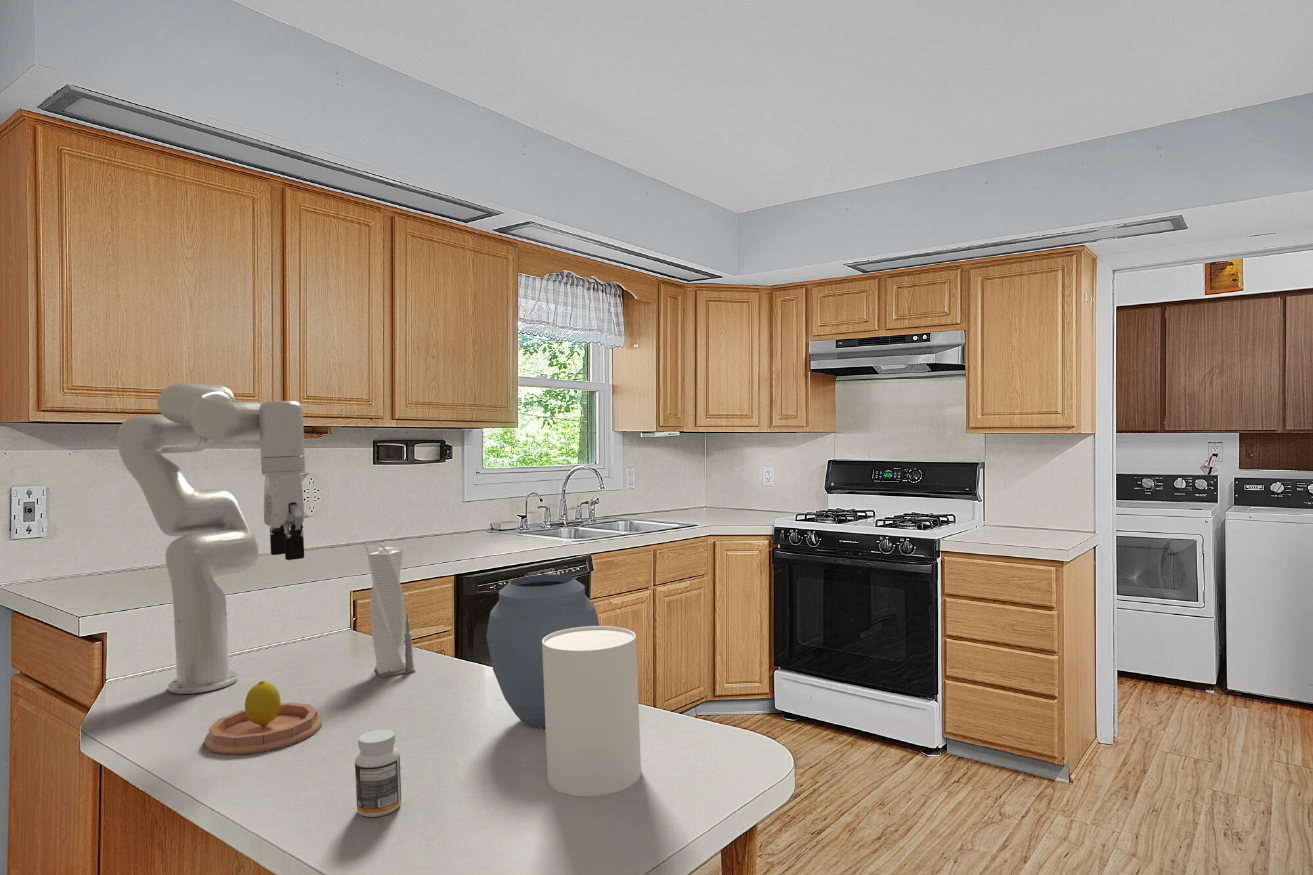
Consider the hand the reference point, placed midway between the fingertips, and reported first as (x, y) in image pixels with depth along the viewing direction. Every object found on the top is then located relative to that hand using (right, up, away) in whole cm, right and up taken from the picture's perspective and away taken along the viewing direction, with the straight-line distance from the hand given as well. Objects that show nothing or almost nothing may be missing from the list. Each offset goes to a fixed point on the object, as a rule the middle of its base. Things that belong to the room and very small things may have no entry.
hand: (287, 556), depth 152 cm
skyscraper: (+13, -28, +21) cm, 37 cm away
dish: (+3, -28, -14) cm, 32 cm away
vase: (+51, -27, -13) cm, 59 cm away
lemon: (+2, -28, -14) cm, 31 cm away
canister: (+61, -27, -36) cm, 75 cm away
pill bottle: (+33, -28, -44) cm, 61 cm away
